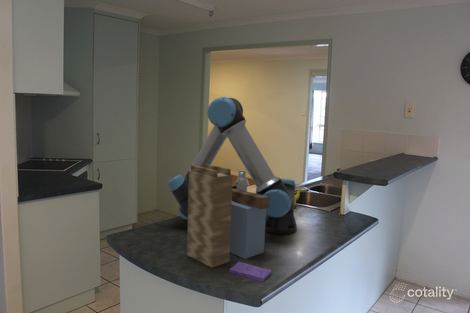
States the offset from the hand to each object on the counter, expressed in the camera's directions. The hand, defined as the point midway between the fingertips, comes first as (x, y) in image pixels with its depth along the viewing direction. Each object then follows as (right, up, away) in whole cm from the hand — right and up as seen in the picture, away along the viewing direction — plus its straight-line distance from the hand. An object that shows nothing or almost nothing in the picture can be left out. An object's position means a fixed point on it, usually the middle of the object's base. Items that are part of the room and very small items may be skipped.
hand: (237, 183), depth 145 cm
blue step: (+3, -26, 0) cm, 26 cm away
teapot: (+28, -18, +66) cm, 74 cm away
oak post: (-11, -26, -8) cm, 29 cm away
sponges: (+4, -29, -18) cm, 34 cm away
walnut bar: (+1, -7, -1) cm, 7 cm away
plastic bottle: (+2, -18, +59) cm, 61 cm away
